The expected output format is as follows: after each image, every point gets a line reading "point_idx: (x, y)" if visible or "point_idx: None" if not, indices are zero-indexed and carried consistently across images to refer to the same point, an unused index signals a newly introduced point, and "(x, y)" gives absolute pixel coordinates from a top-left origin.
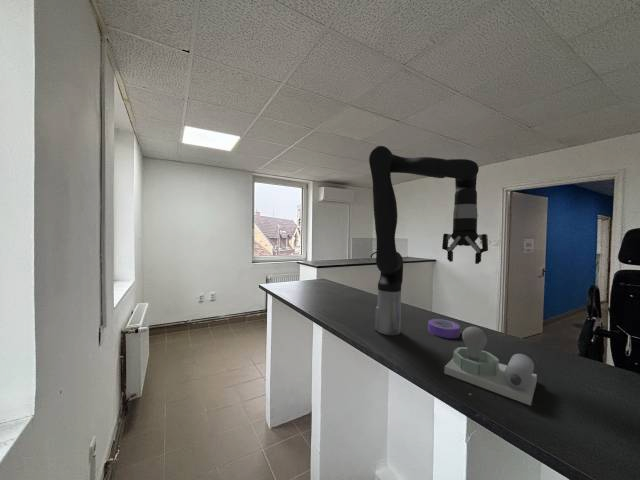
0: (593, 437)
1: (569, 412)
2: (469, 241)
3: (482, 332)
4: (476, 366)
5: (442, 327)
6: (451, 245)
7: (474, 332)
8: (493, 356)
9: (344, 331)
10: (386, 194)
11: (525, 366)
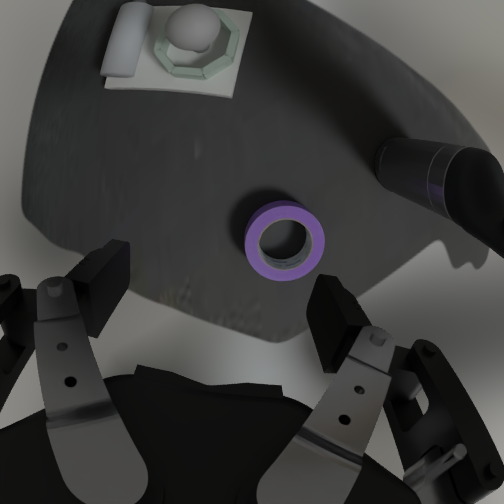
0: (88, 5)
1: (93, 34)
2: (80, 394)
3: (171, 17)
4: None
5: (285, 213)
6: (377, 369)
7: (189, 5)
8: (161, 58)
9: (460, 121)
10: None
11: (115, 27)
